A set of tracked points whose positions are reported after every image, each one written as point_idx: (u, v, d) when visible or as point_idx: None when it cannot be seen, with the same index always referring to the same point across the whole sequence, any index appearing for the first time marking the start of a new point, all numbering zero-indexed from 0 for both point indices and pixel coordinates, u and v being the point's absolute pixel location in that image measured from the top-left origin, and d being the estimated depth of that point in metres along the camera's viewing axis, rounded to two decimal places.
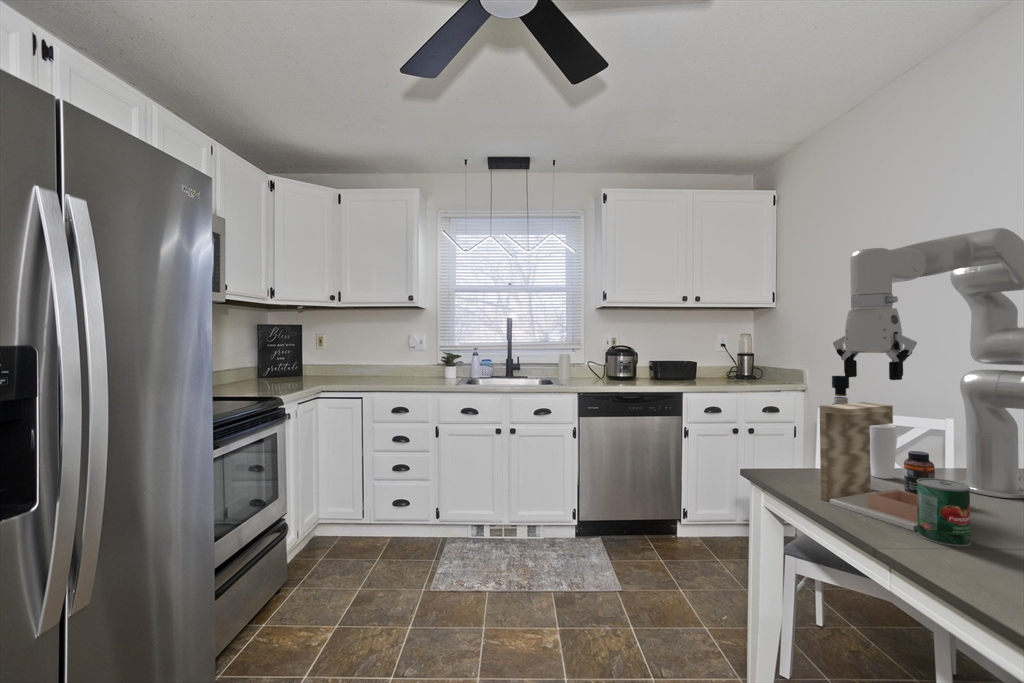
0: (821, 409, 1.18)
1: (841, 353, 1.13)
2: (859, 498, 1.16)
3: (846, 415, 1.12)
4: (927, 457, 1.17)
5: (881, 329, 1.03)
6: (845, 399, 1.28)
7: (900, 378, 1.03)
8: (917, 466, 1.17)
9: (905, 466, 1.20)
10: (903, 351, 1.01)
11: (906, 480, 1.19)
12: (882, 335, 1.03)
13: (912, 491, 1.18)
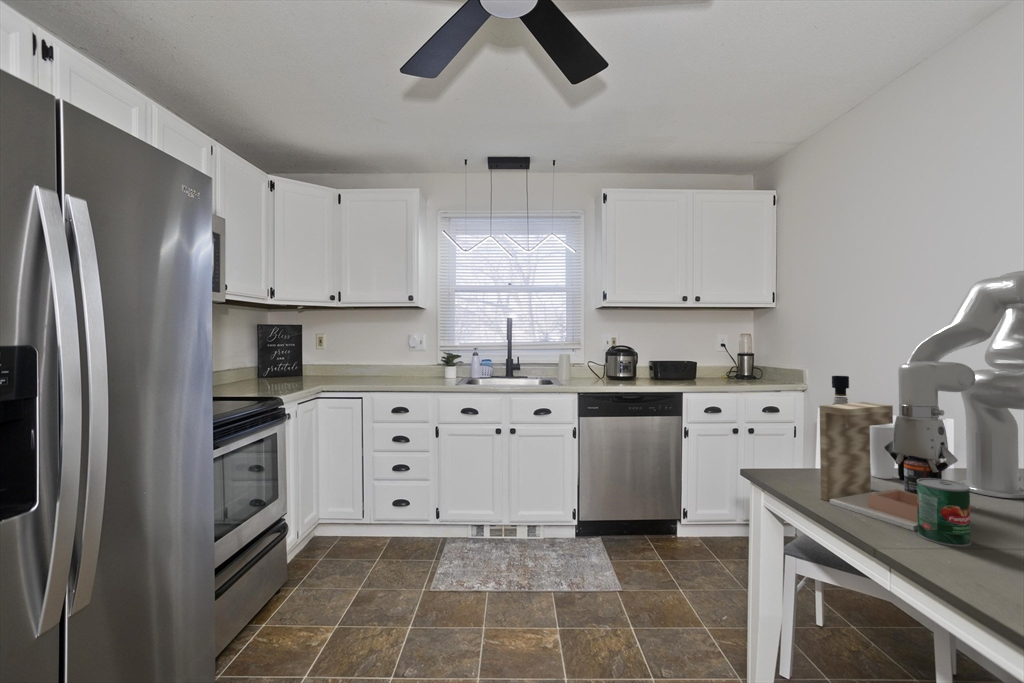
0: (821, 409, 1.18)
1: (895, 457, 1.23)
2: (859, 498, 1.16)
3: (846, 415, 1.12)
4: None
5: (929, 439, 1.15)
6: (845, 399, 1.28)
7: None
8: (917, 466, 1.17)
9: (905, 466, 1.19)
10: (942, 464, 1.13)
11: (906, 480, 1.19)
12: (930, 444, 1.15)
13: (912, 491, 1.18)
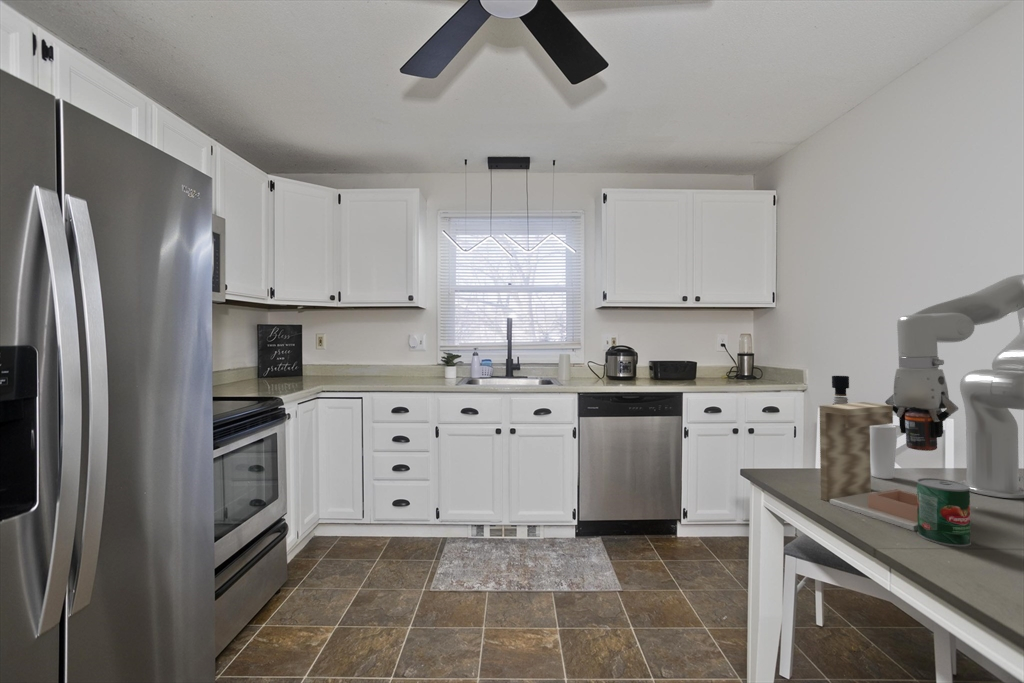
0: (821, 409, 1.18)
1: (896, 410, 1.23)
2: (859, 498, 1.16)
3: (846, 415, 1.12)
4: None
5: (929, 389, 1.15)
6: (845, 399, 1.28)
7: (940, 435, 1.16)
8: (918, 417, 1.17)
9: (906, 418, 1.20)
10: (943, 413, 1.13)
11: (907, 432, 1.19)
12: (930, 394, 1.15)
13: (914, 443, 1.18)
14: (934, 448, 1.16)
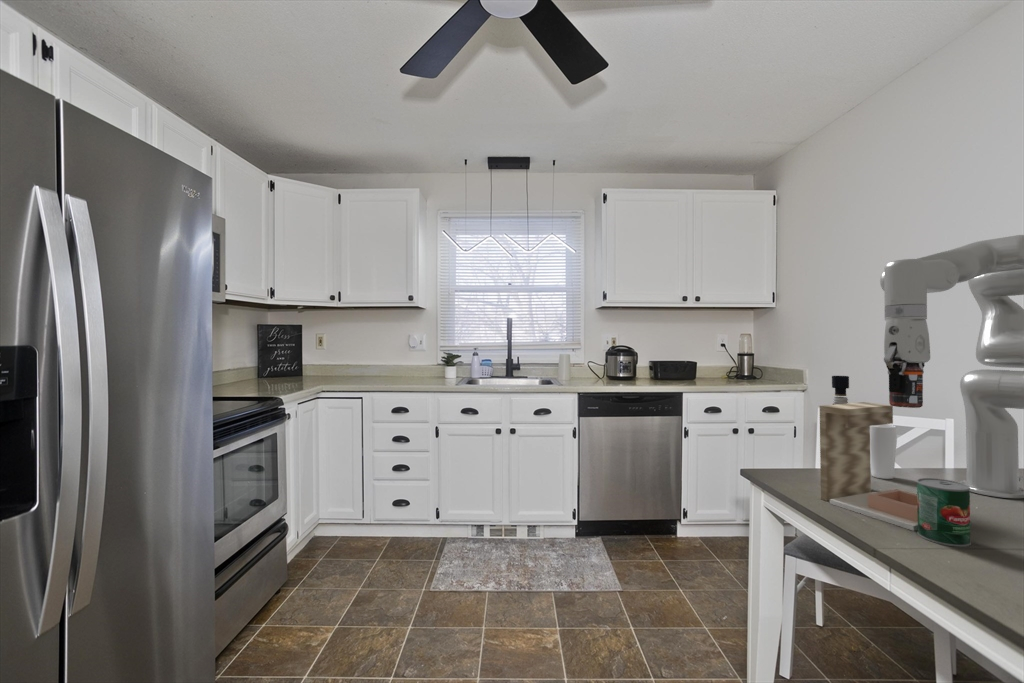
0: (821, 409, 1.18)
1: None
2: (859, 498, 1.16)
3: (846, 415, 1.12)
4: None
5: None
6: (845, 399, 1.28)
7: (902, 391, 1.06)
8: None
9: None
10: None
11: None
12: None
13: None
14: (897, 404, 1.07)
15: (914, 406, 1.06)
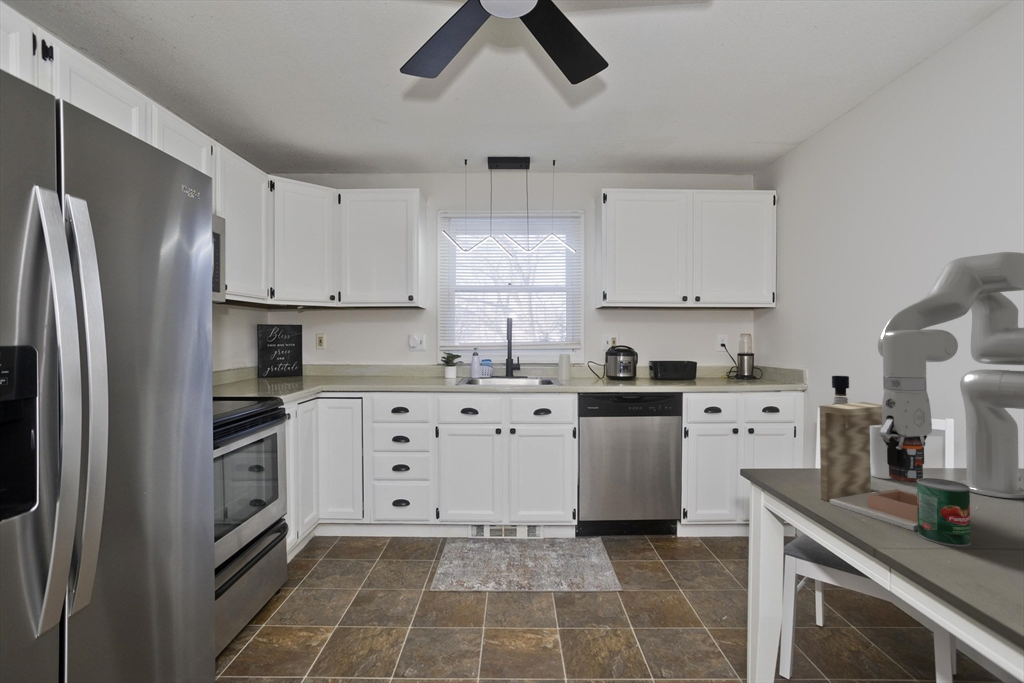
0: (821, 409, 1.18)
1: None
2: (859, 498, 1.16)
3: (846, 415, 1.12)
4: (898, 434, 1.06)
5: None
6: (845, 399, 1.28)
7: (900, 466, 1.04)
8: None
9: None
10: None
11: None
12: None
13: None
14: (896, 478, 1.06)
15: (913, 481, 1.04)
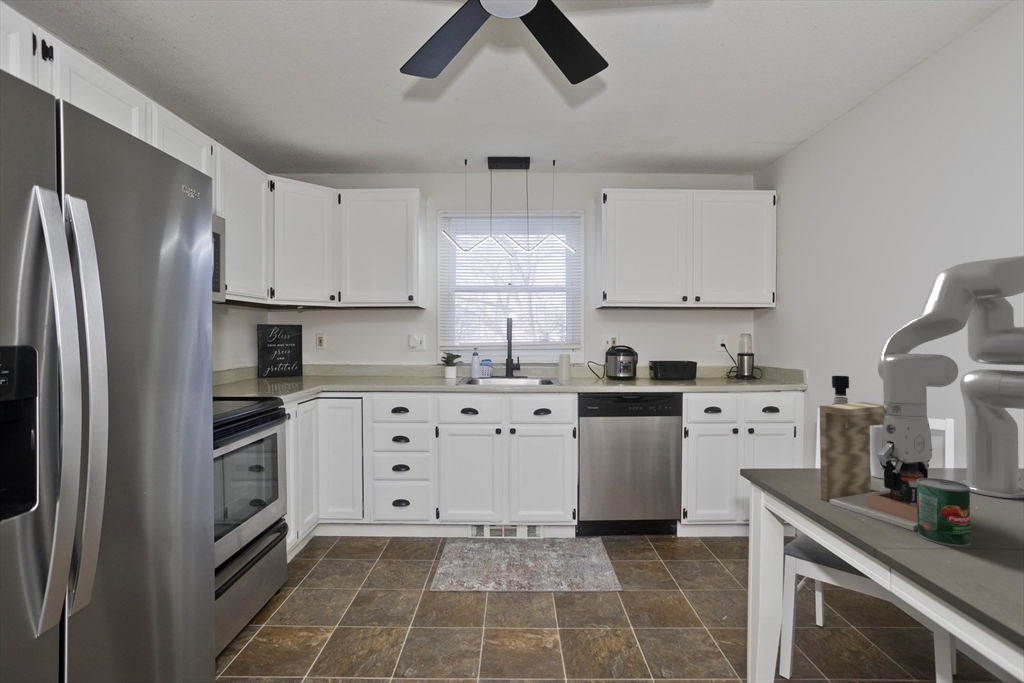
0: (821, 409, 1.18)
1: None
2: (859, 498, 1.16)
3: (846, 415, 1.12)
4: None
5: None
6: (845, 399, 1.28)
7: (897, 489, 1.04)
8: None
9: None
10: None
11: None
12: None
13: None
14: None
15: None
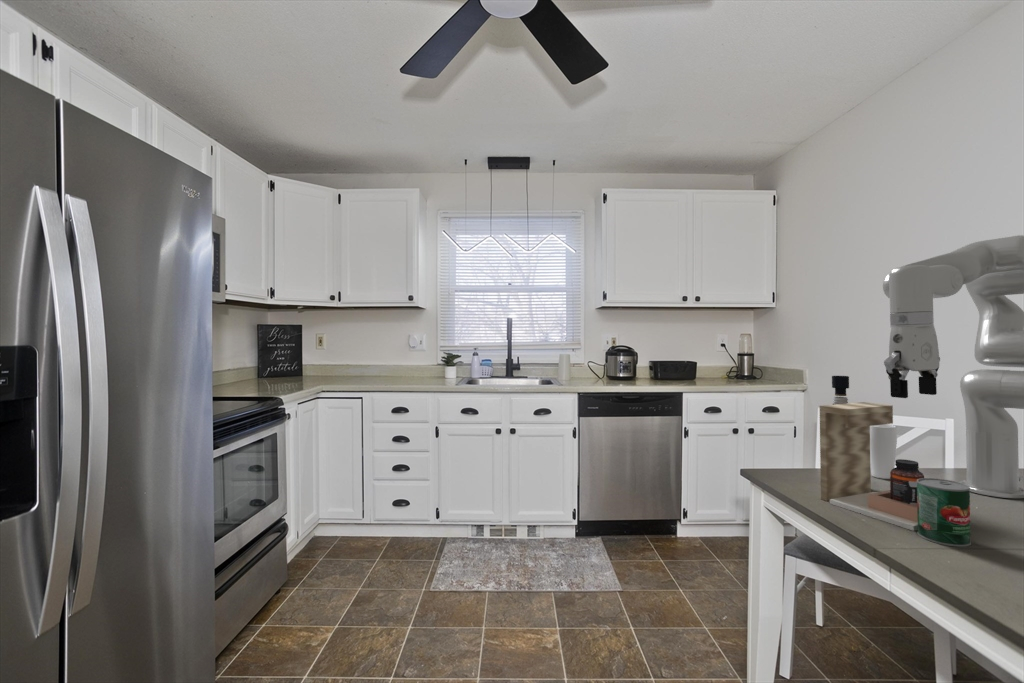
0: (821, 409, 1.18)
1: None
2: (859, 498, 1.16)
3: (846, 415, 1.12)
4: (900, 465, 1.06)
5: None
6: (845, 399, 1.28)
7: (904, 396, 1.04)
8: None
9: None
10: None
11: None
12: None
13: None
14: None
15: None
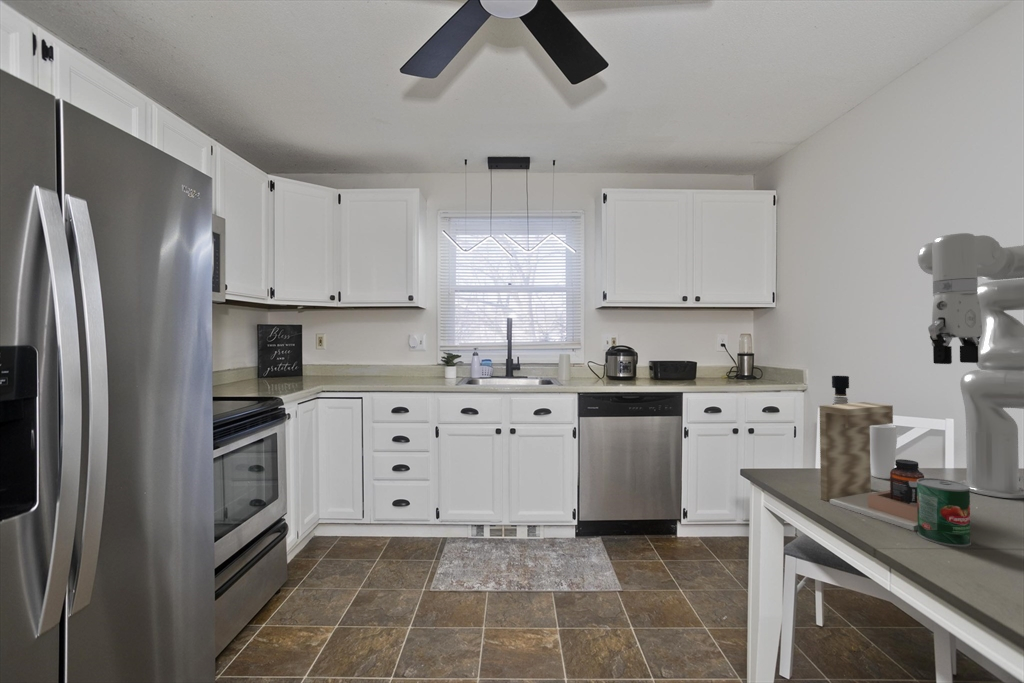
0: (821, 409, 1.18)
1: None
2: (859, 498, 1.16)
3: (846, 415, 1.12)
4: (900, 465, 1.06)
5: None
6: (845, 399, 1.28)
7: (947, 362, 1.05)
8: None
9: None
10: None
11: None
12: None
13: None
14: None
15: None
